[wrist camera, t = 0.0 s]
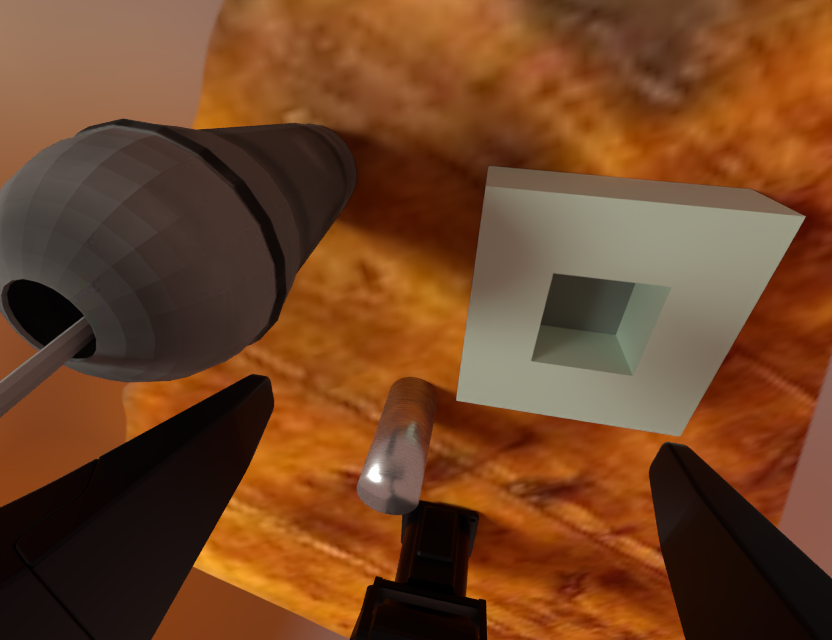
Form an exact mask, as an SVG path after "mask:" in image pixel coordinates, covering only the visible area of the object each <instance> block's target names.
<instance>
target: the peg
mask: <svg viewBox="0 0 832 640" xmlns="http://www.w3.org/2000/svg"><path fill="white" fill-rule="evenodd" d="M437 403H438V395H437V392H436V390H435V389H434V388H433V387H432V386H431V385H430V384H429V383H428V382H426V381H424V380H422V379H419V378H413V377H407V378H402V379H399V380H397V381H396V382H395V383H394V384H393V385H392V386H391V388H390V391H389V394H388V397H387V400H386V403H385V406H384V409H383V412H382V415H381V417H380V420H379V423H378V426H377V429H376V432H375V435H374V438H373V441H372V444H371V447H370V449H369V452H368V455H367V458H366V461H365V464H364V467H363V470H362V473H361V476H360V479H359V481H358V484H357V493H358V496H359V497H360V499H361V500H362V501H363V502H364V503H365V504H366V505H367V506H369V507H370V508H372V509H374V510H376V511H379V512H382V513H385V514H391V515H402V514H406V513H409V512H411V511H413V510H414V509H415V508H416V507H417V506H418V503H419V498H420V492H421V487H422V482H423V477H424V471H425V466H426V461H427V456H428V450H429V445H430V440H431V435H432V429H433V424H434V419H435V414H436V408H437Z"/></svg>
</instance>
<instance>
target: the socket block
mask: <svg viewBox="0 0 832 640" xmlns="http://www.w3.org/2000/svg"><path fill="white" fill-rule="evenodd" d="M805 217H806V216H804V215H802V214H800V213H798V212H796V211H794V210H792V209H790V208H788V207H786V206H784V205H782V204H780V203H778V202H776V201H774V200H772V199H770V198H768V197H766V196H764V195H762V194H760V193H758V192H756V191H754V190H752V189H742V188H731V187H720V186H709V185H697V184H686V183H675V182H664V181H653V180H641V179H630V178H619V177H608V176H597V175H586V174H574V173H563V172H552V171H541V170H530V169H518V168H507V167H496V166H488V173H487V180H486V187H485V194H484V202H483V209H482V216H481V223H480V231H479V238H478V245H477V252H476V259H475V267H474V274H473V281H472V288H471V296H470V303H469V310H468V317H467V325H466V332H465V339H464V346H463V353H462V361H461V368H460V375H459V383H458V390H457V397H456V401H461V402H468V403H474V404H480V405H486V406H493V407H499V408H505V409H511V410H518V411H524V412H530V413H536V414H543V415H549V416H555V417H561V418H568V419H574V420H580V421H586V422H593V423H599V424H605V425H611V426H617V427H624V428H630V429H636V430H642V431H649V432H655V433H661V434H667V435H674V436H680V435H681V434H682V432H683V430H684V428H685V427H686V425H687V423H688V422H689V420H690V418H691V416H692V415H693V413H694V411H695V409H696V408H697V406H698V404H699V402H700V401H701V399H702V397H703V395H704V394H705V392H706V390H707V388H708V387H709V385H710V383H711V381H712V380H713V378H714V376H715V374H716V373H717V371H718V369H719V367H720V366H721V364H722V362H723V360H724V359H725V357H726V355H727V353H728V352H729V350H730V348H731V346H732V345H733V343H734V341H735V340H736V338H737V336H738V334H739V333H740V331H741V329H742V327H743V326H744V324H745V322H746V320H747V319H748V317H749V315H750V313H751V312H752V310H753V308H754V306H755V305H756V303H757V301H758V299H759V298H760V296H761V294H762V292H763V291H764V289H765V287H766V285H767V284H768V282H769V280H770V278H771V277H772V275H773V273H774V271H775V270H776V268H777V266H778V264H779V263H780V261H781V259H782V258H783V256H784V254H785V252H786V251H787V249H788V247H789V245H790V244H791V242H792V240H793V238H794V237H795V235H796V233H797V231H798V230H799V228H800V226H801V224H802V223H803V221H804V219H805Z"/></svg>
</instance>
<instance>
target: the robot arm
mask: <svg viewBox="0 0 832 640" xmlns="http://www.w3.org/2000/svg"><path fill="white" fill-rule="evenodd" d="M273 408H274V397H273V392H272V386H271V381H270V379H269V377H267V376H262V375H256V374H252V375H249V376H247V377H245V378H244V379H242V380H240V381H238V382H236V383H234V384H232V385H231V386H229V387H227V388H225V389H223V390H221V391H220V392H218V393H216V394H214V395H212V396H210V397H209V398H207V399H205V400H203V401H201V402H199V403H198V404H196V405H194V406H192V407H190V408H188V409H187V410H185V411H183V412H181V413H179V414H177V415H176V416H174V417H172V418H170V419H168V420H166V421H164V422H163V423H161V424H159V425H157V426H155V427H153V428H152V429H150V430H148V431H146V432H144V433H142V434H141V435H139V436H137V437H135V438H133V439H131V440H130V441H128V442H126V443H124V444H122V445H120V446H119V447H117V448H115V449H113V450H111V451H109V452H108V453H106V454H104V455H102V456H100V457H99V459H95V460H93V461H91V462H89V463H87V464H85V465H83V466H82V467H80V468H78V469H76V470H74V471H73V472H71V473H69V474H67V475H65V476H63V477H61V478H59V479H57V480H55V481H53V482H51V483H49V484H47V485H46V486H43V487H42V488H39V489H37V490H35V491H33V492H31V493H29V494H27V495H25V496H23V497H21V498H19V499H17V500H15V501H13V502H11V503H9V504H7V505H5V506H2V507H0V640H151V639H152V637H153V636H154V634H155V632H156V630H157V629H158V627H159V625H160V623H161V621H162V620H163V618H164V616H165V614H166V613H167V611H168V609H169V607H170V605H171V604H172V602H173V600H174V598H175V597H176V595H177V593H178V591H179V590H180V588H181V586H182V584H183V582H184V581H185V579H186V577H187V575H188V574H189V572H190V570H191V568H192V567H193V565H194V563H195V561H196V559H197V558H198V556H199V554H200V552H201V551H202V549H203V547H204V545H205V543H206V542H207V540H208V538H209V536H210V535H211V533H212V531H213V529H214V528H215V526H216V524H217V522H218V520H219V519H220V517H221V515H222V513H223V512H224V510H225V508H226V506H227V505H228V503H229V501H230V499H231V497H232V496H233V494H234V492H235V490H236V489H237V487H238V485H239V483H240V481H241V480H242V478H243V476H244V474H245V472H246V471H247V469H248V467H249V465H250V462H251V460H252V458H253V456H254V453H255V451H256V449H257V446H258V444H259V442H260V440H261V437H262V435H263V433H264V430H265V428H266V426H267V423H268V421H269V419H270V416H271V414H272V412H273ZM649 479H650V486H651V492H652V498H653V505H654V511H655V517H656V524H657V530H658V536H659V541H660V547H661V551H662V555H663V559H664V563H665V566H666V570H667V573H668V577H669V581H670V584H671V588H672V592H673V595H674V599H675V603H676V606H677V610H678V614H679V617H680V621H681V625H682V628H683V632H684V636H685V639H686V640H832V578H831V577H830V576H828V575H827V574H826V573H825V572H824V571H823V570H822V569H821V568H820V567H819V566H818V565H817V564H815V563H814V562H813V561H812V560H811V559H810V558H809V557H808V556H807V555H806V554H805V553H803V552H802V551H801V550H800V549H799V548H798V547H797V546H796V545H795V544H794V543H793V542H792V541H790V540H789V539H788V538H787V537H786V536H785V535H784V534H783V533H782V532H780V530H778V529H777V528H776V527H775V526H774V525H773V524H772V523H771V522H770V521H769V520H768V519H766V518H765V517H764V516H763V515H762V514H761V513H760V512H759V511H758V510H757V509H756V508H755V507H753V506H752V505H751V504H750V503H749V502H748V501H747V500H746V499H745V498H744V497H743V496H741V495H740V494H739V493H738V492H737V491H736V490H735V489H734V488H733V487H732V486H731V485H729V484H728V483H727V482H726V481H725V480H724V479H723V478H722V477H721V476H720V475H719V474H718V473H716V472H715V471H714V470H713V469H712V468H711V467H710V466H709V465H708V464H707V463H706V462H704V461H703V460H702V459H701V458H700V457H699V456H698V455H697V454H696V453H695V452H694V451H692V450H691V449H690V448H689V447H688V446H686V445H683V444H677V443H671V442H666V443H664V444H662V446H661V447H660V449H659V451H658V453H657V455H656V457H655V458H654V460H653V462H652V464H651V466H650V469H649ZM478 522H479V515H478V514H477V513H474V512H470V511H464V510H459V509H454V508H449V507H444V506H438V505H433V504H428V503H423V502H419V503H418V506H417V507H416V508H415V509H414V510H413V511H411V512H409V513H406V514H402V533H401V543H402V549H401V554H400V559H399V563H398V568H397V573H396V578H395V582H394V581H390V580H385V579H383V578H382V577H378V576H376V578H375V581H374V584H373V585H370V586H368V587H367V590H366V594H365V598H364V602H363V606H362V609H361V612H360V614H359V617H358V619H357V622H356V624H355V627H354V629H353V632H352V635H351V637H350V640H487V617H486V600H483V599H479V600H477V599H472V598H468V597H466V589H467V574H468V559H469V557H470V556H471V552H472V548H473V544H474V539H475V535H476V530H477V526H478Z"/></svg>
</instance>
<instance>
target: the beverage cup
mask: <svg viewBox="0 0 832 640" xmlns="http://www.w3.org/2000/svg"><path fill="white" fill-rule="evenodd" d="M356 173H357V170H356V166H355V162H354V158H353V155H352V154H351V152H350V150H349V148H348V146H347V145H346V143H345V142H344V141H343V140H342V139H341V138H340V137H339V136H338V135H337V134H336V133H335V132H333V131H331V130H329V129H327V128H325V127H324V126H320V125H314V124H305V125H304V124H298V123H288V124H273V125H259V126H244V127H229V128H215V129H200V130H194V129H189V128H183V127H177V126H168V125H158V124H151V123H146V122H140V121H134V120H128V119H119V120H115V121H111V122H106V123H102V124H98V125H93V126H89V127H87V128H85V129H84V130H82V131H80V132H78V133H77V134H76V135H75V136H74V137H72V138H68V139H65V140H61V141H59V142H57V143H55V144H53V145H51V146H49V147H47V148H45V149H43V150H41V151H40V152H39V153H38V154H37V155H36V156H34V157H33V158H32V159H31V160H30V161H29V162H27V163H26V164H25V165H24V166H23V167H22V168H21V169H20V170H19V171H18V172H17V173H16V174H15V175H13V176H12V177H11V178H10V179H9V180H8V181H7V182H6V183H5V184H4V186H3V187H2V189H1V190H0V312H1V314H2V315H3V316H4V317H5V319H6V320H7V321H8V322H9V324H10V325H11V326H12V328H13V329H14V330H15V331H16V332H17V333H18V334H19V335H20V336H21V337H22V338H23V339H24V340H26V341H27V342H28V343H29V344H30V345H31V346H32V347H33V348H35V349H36V350H38V351H39V352H38V353H36V354H35V355H34V356H33V357H31V358H30V359H28V360H27V361H26V362H25V363H23V364H22V365H21V366H19V367H18V368H17V369H16V370H14V371H13V372H12V373H10V374H9V375H8V376H7V377H6V378H4V379H3V380H1V381H0V417H2V416H3V415H4V414H5V413H6V412H8V410H10V409H11V408H12V407H13V406H15V405H16V404H17V403H18V402H19V401H21V400H22V399H23V398H24V397H25V396H27V395H28V394H29V393H30V392H31V391H32V390H34V389H35V388H36V387H37V386H38V385H40V383H42V382H43V381H44V380H45V379H47V378H48V377H49V376H50V375H51V374H53V373H54V372H55V371H56V370H57V369H59V368H60V367H61V366H62V365H65V366H67V367H69V368H71V369H74V370H76V371H79V372H81V373H84V374H87V375H91V376H95V377H99V378H103V379H108V380H114V381H121V382H152V381H171V380H175V379H180V378H185V377H188V376H191V375H193V374H196V373H198V372H201V371H203V370H206V369H208V368H210V367H213V366H215V365H218V364H220V363H222V362H225V361H227V360H228V359H230V358H232V357H233V356H235V355H236V354H238V353H240V352H241V351H242V350H243V349H244V348H245V347H246V346H248V345H251V344H253V343H255V342H256V341H258V340H260V339H261V338H262V337H263V336H264V335H265V334H266V332H267V331H268V330H269V329H270V328H271V327H272V326H273V325H274V324H275V323H276V322H277V321H278V318H279V315H280V312H281V309H282V306H283V304H284V302H285V300H286V297H287V295H288V293H289V291H290V289H291V287H292V285H293V282H294V279H295V276H296V274H297V272H298V271H299V270H300V268H301V267H302V265H303V264H304V263H305V261H306V260H307V259H308V257H309V256H310V255H311V253H312V252H313V250H314V249H315V248H316V246H317V245H318V244H319V242H320V241H321V239H322V238H323V237H324V235H325V234H326V233H327V231H328V230H329V228H330V227H331V226H332V224H333V223H334V222H335V220H336V219H337V217H338V216H339V215H340V213H341V212H342V211H343V209H344V208H345V206H346V204H347V201H348V199H349V198H350V197H351V196H352V193H353V191H354V188H355V185H356Z"/></svg>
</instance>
